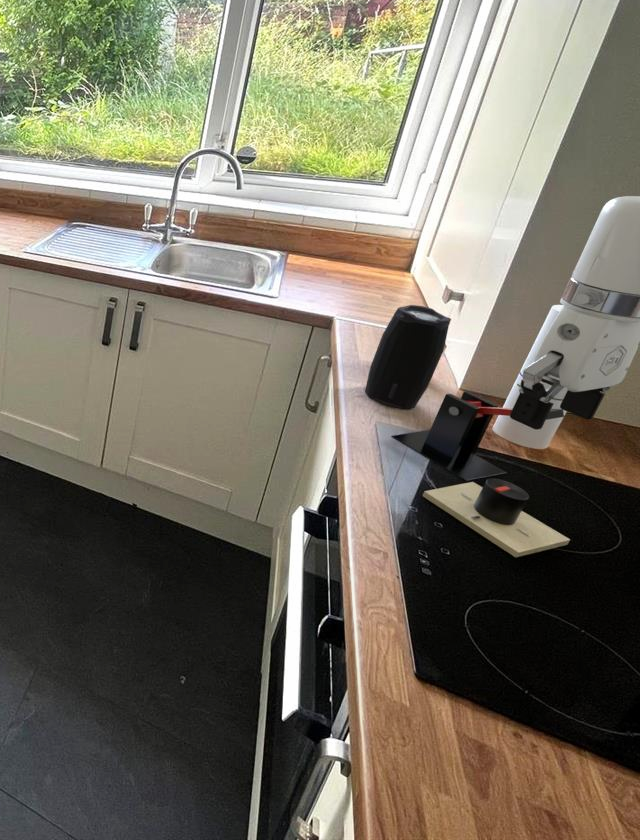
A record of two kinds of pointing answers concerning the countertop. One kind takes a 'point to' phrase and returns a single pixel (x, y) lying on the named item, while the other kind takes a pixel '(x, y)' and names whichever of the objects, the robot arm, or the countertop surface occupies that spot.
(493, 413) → the lever
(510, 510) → the knob
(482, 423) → the black lever stand
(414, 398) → the portable speaker
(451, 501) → the panel
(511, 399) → the cylindrical container
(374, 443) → the countertop surface
